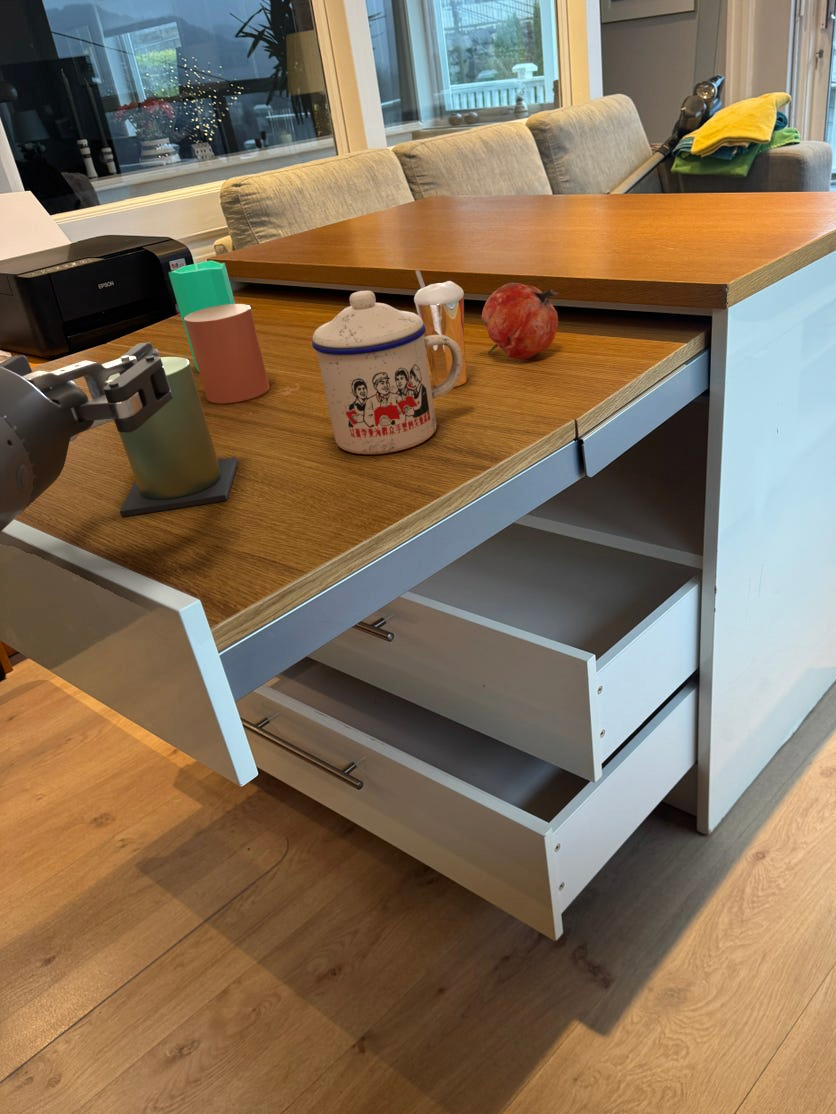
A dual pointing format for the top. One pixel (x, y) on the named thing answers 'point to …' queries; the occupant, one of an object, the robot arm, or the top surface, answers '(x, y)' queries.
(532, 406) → the top surface
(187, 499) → the mat
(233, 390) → the lower tin
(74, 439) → the robot arm
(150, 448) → the upper tin
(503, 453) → the top surface
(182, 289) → the candle
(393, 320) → the teacup with lid
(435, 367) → the milkshake
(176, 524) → the top surface
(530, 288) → the pomegranate
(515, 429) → the top surface
